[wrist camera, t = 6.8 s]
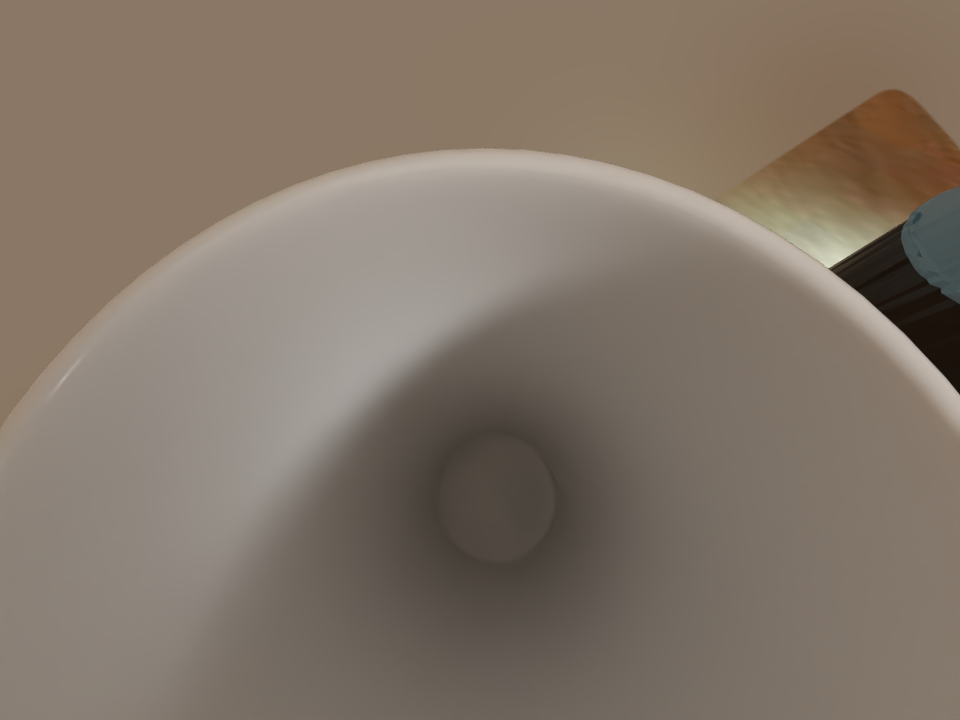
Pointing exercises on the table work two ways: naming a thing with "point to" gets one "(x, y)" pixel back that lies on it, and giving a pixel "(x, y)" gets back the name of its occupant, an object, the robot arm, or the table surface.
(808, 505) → the white cup
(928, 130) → the table surface
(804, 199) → the table surface
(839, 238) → the table surface
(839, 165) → the table surface
